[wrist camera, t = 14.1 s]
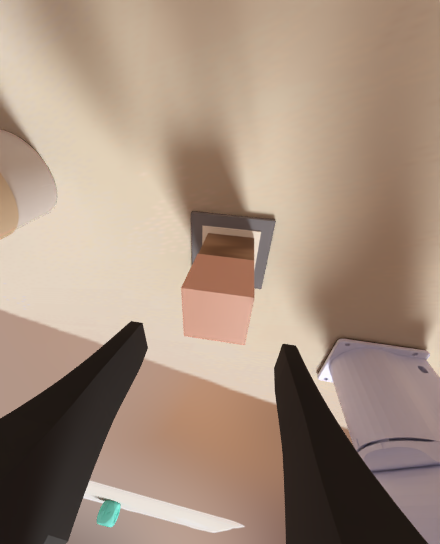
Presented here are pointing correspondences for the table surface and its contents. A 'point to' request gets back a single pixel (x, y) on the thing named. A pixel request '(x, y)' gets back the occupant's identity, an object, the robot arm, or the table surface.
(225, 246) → the walnut block
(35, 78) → the table surface
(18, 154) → the coffee cup
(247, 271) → the terracotta block
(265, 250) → the mat
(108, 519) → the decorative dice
